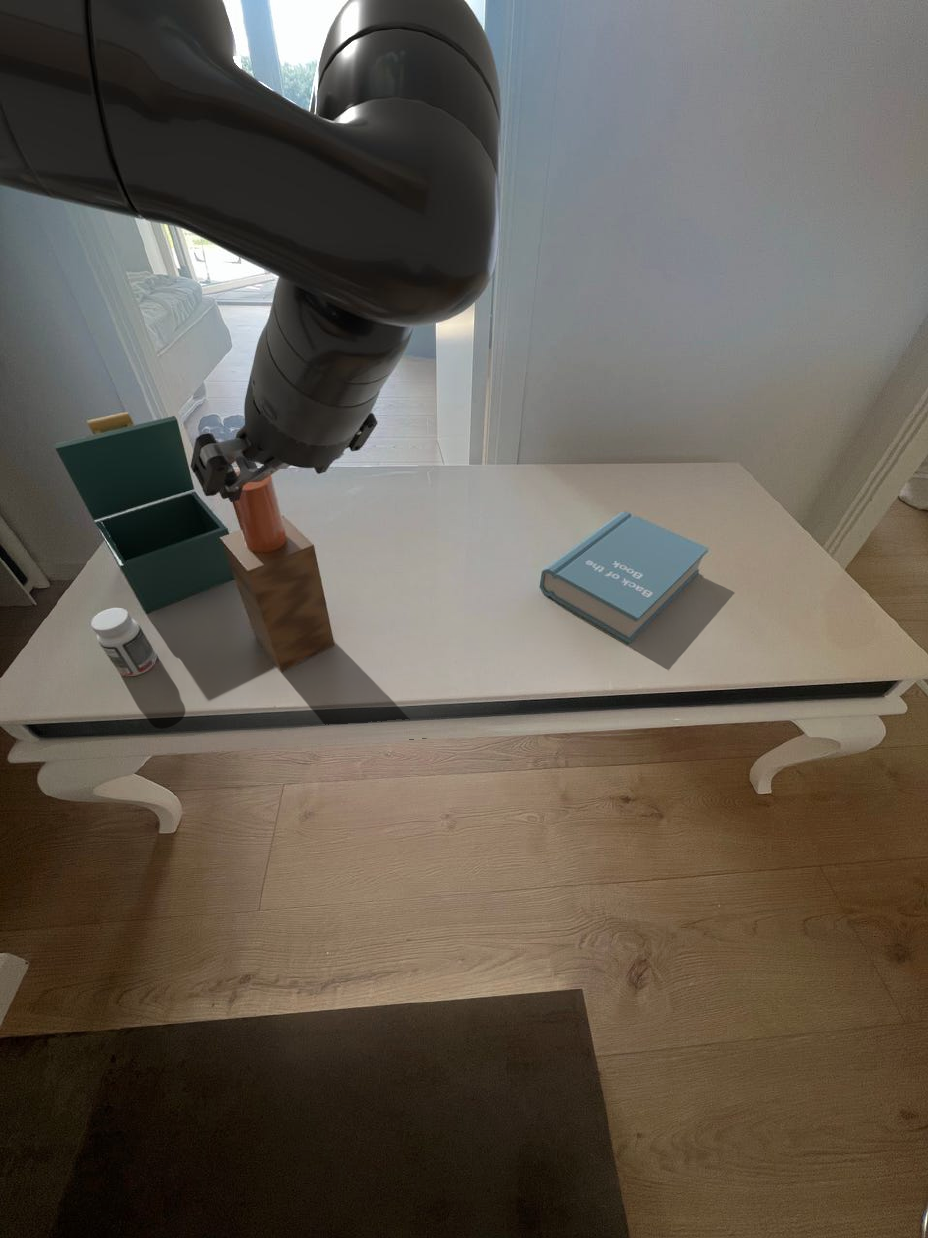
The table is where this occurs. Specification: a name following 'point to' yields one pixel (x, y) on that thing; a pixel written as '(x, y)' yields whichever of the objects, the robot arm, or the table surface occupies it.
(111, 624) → the pill bottle
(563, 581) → the book
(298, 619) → the stand
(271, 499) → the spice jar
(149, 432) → the lid
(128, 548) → the chest
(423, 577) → the table surface
